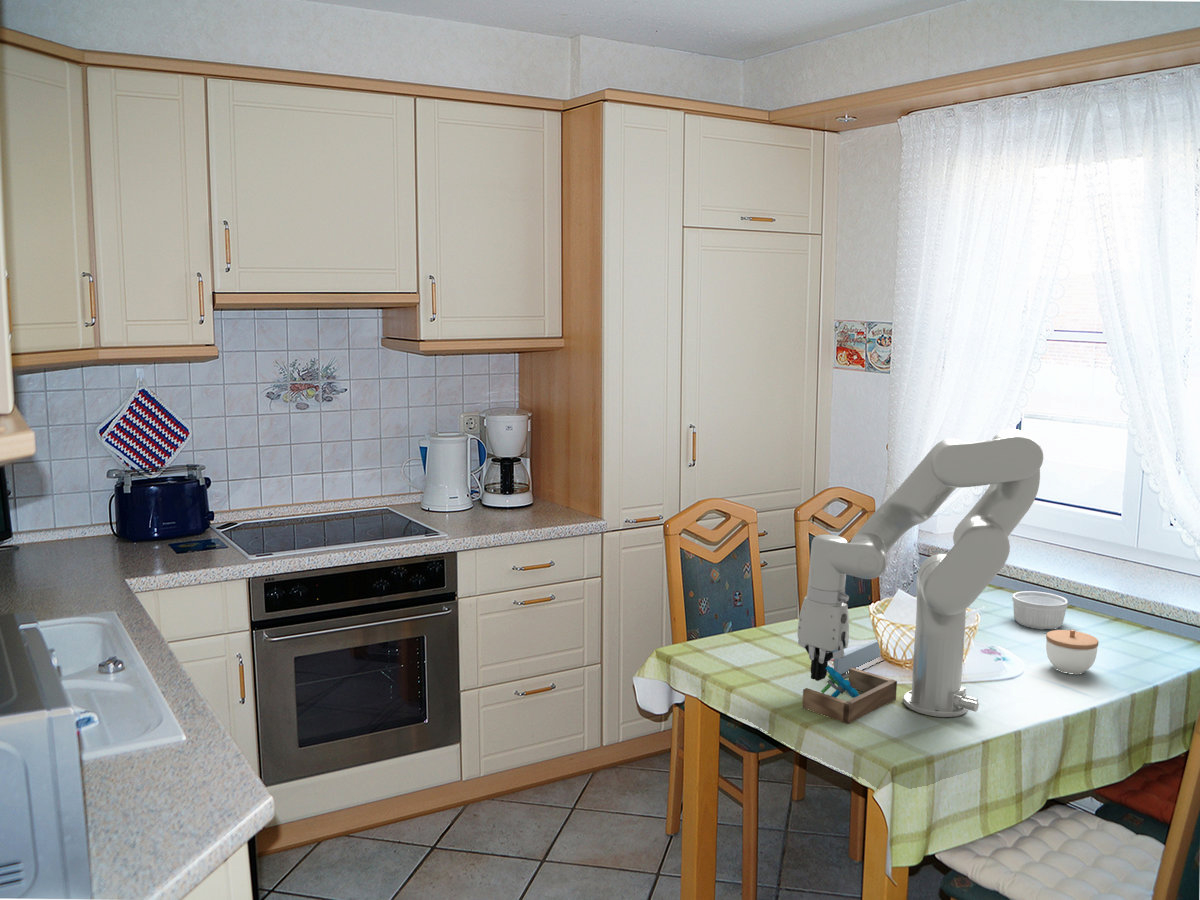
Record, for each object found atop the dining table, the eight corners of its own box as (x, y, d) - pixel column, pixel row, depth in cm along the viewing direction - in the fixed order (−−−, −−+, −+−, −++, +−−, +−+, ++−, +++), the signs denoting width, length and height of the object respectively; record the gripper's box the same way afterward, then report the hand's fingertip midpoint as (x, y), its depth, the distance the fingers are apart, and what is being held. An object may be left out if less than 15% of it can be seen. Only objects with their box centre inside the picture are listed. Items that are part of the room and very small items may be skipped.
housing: (941, 675, 224) (942, 658, 224) (848, 724, 198) (849, 704, 197) (874, 656, 236) (875, 640, 235) (778, 699, 210) (778, 681, 209)
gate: (880, 656, 234) (880, 640, 233) (837, 676, 221) (838, 658, 221) (876, 655, 235) (877, 639, 234) (833, 674, 222) (834, 657, 221)
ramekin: (1001, 616, 268) (1003, 590, 267) (1048, 615, 269) (1050, 590, 268) (1027, 632, 255) (1029, 605, 254) (1076, 631, 256) (1078, 604, 255)
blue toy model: (874, 705, 203) (843, 671, 201) (853, 726, 202) (823, 692, 201) (850, 688, 214) (821, 656, 212) (831, 708, 213) (801, 676, 211)
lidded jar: (1049, 658, 236) (1052, 619, 235) (1099, 668, 230) (1103, 628, 229) (1039, 671, 227) (1042, 631, 226) (1091, 682, 221) (1094, 641, 220)
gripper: (866, 600, 207) (858, 685, 209) (805, 583, 217) (798, 664, 220) (846, 607, 201) (838, 694, 204) (785, 588, 212) (778, 671, 215)
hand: (818, 678), depth 212 cm, fingers closed
